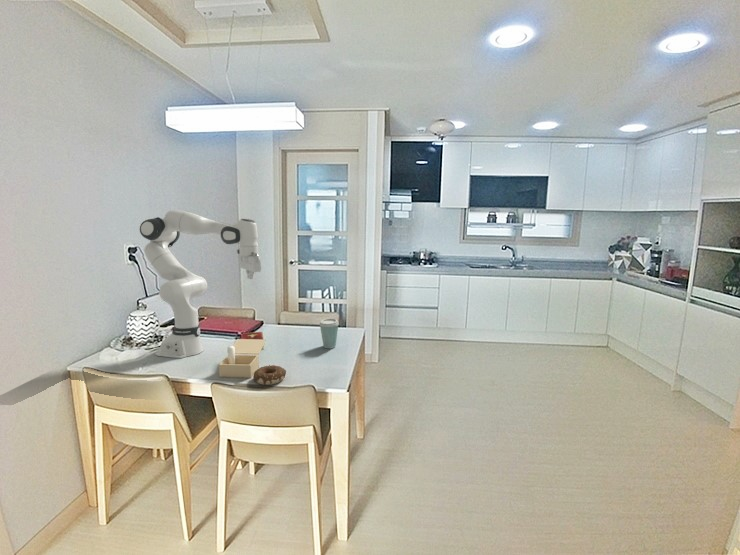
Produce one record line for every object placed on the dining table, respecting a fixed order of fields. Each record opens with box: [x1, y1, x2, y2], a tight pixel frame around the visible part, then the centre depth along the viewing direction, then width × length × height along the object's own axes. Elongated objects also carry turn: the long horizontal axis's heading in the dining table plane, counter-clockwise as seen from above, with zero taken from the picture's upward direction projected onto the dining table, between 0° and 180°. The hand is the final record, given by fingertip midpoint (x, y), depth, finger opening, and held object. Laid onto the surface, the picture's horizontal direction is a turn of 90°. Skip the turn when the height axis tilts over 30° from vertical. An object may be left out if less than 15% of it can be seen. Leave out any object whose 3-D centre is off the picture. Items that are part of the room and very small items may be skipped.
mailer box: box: [218, 345, 260, 379], centre depth 179 cm, size 14×12×11 cm
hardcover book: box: [240, 331, 265, 351], centre depth 216 cm, size 12×21×4 cm, turn 18°
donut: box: [252, 364, 287, 386], centre depth 172 cm, size 14×14×5 cm
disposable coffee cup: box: [319, 317, 340, 349], centre depth 214 cm, size 11×11×15 cm
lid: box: [232, 338, 266, 355], centre depth 191 cm, size 14×12×1 cm
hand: (250, 278), depth 199 cm, fingers closed
